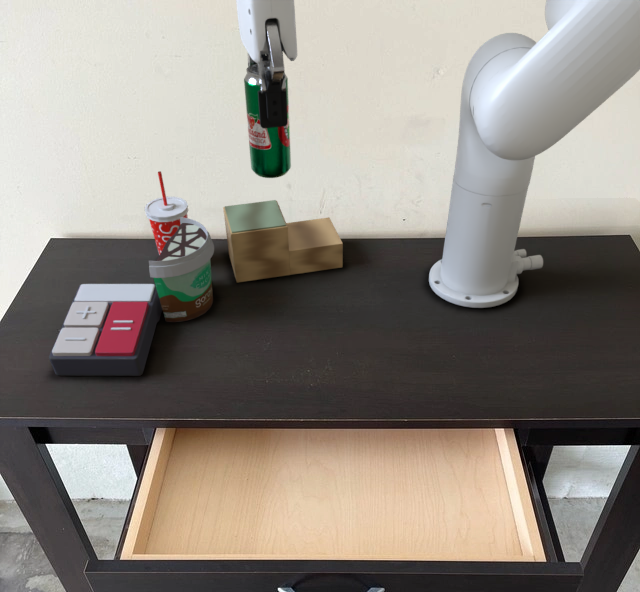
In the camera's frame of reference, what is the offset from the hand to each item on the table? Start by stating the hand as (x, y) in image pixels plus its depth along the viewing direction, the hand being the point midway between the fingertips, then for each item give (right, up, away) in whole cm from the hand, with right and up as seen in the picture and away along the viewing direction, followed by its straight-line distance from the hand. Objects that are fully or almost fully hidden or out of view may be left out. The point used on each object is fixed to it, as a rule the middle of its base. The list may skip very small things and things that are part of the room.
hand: (268, 115), depth 79 cm
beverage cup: (-16, -12, +21) cm, 29 cm away
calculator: (-21, -26, +8) cm, 35 cm away
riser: (+1, -12, +21) cm, 24 cm away
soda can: (0, -5, +5) cm, 7 cm away
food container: (-11, -20, +14) cm, 27 cm away
